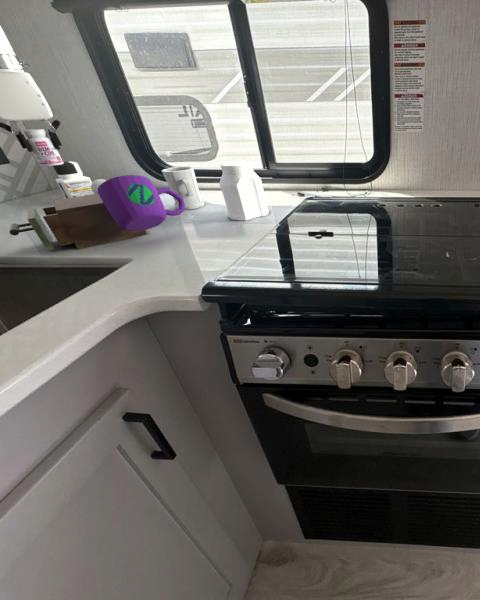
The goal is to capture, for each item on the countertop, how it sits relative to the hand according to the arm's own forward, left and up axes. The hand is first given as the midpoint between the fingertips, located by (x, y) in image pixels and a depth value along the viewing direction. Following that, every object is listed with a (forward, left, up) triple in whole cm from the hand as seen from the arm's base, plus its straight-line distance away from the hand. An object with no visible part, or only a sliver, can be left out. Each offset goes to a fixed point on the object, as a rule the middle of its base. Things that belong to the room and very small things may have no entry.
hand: (44, 149), depth 86 cm
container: (+2, +36, -21) cm, 41 cm away
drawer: (-4, -16, -19) cm, 26 cm away
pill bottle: (0, 0, -4) cm, 4 cm away
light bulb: (+8, +11, -21) cm, 25 cm away
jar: (+38, -26, -20) cm, 51 cm away
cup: (+28, -3, -21) cm, 35 cm away
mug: (+14, -30, -16) cm, 37 cm away
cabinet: (+4, -16, -20) cm, 27 cm away
